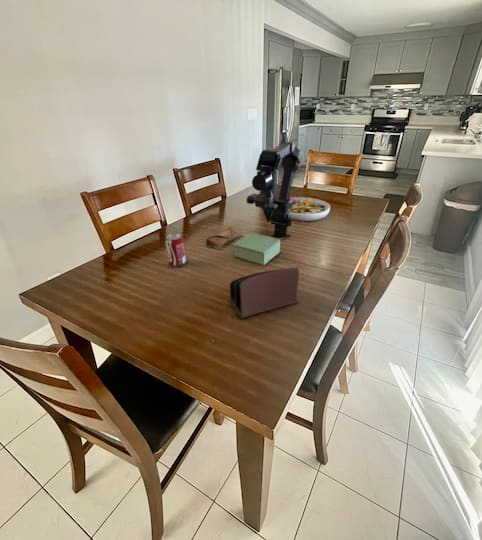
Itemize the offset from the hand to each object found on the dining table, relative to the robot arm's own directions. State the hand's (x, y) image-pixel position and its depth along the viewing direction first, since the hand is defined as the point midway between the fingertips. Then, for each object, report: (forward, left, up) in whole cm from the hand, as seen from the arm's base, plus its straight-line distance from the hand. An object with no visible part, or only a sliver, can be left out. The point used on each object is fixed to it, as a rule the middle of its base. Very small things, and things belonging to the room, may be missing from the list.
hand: (268, 221), depth 124 cm
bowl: (-49, -10, -13) cm, 52 cm away
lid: (+8, 0, -7) cm, 11 cm away
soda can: (+33, -22, -13) cm, 42 cm away
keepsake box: (+8, 0, -13) cm, 15 cm away
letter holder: (+33, +21, -13) cm, 41 cm away
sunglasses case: (+5, -21, -13) cm, 25 cm away
